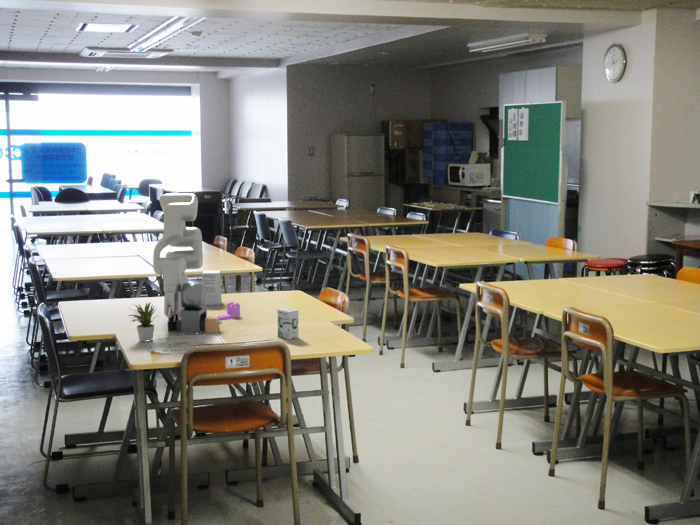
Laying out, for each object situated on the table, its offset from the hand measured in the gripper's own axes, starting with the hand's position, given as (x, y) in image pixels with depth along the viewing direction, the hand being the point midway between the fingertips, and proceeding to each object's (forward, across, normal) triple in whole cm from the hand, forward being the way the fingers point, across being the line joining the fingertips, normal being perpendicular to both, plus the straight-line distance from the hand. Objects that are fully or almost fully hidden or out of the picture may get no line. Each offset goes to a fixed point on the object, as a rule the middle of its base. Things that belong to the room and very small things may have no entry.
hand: (174, 329), depth 342 cm
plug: (+1, 0, +9) cm, 9 cm away
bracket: (+1, -30, +15) cm, 34 cm away
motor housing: (+1, 0, +9) cm, 9 cm away
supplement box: (+1, -68, -1) cm, 68 cm away
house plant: (+1, +18, -6) cm, 20 cm away
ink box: (+1, +10, +52) cm, 53 cm away
